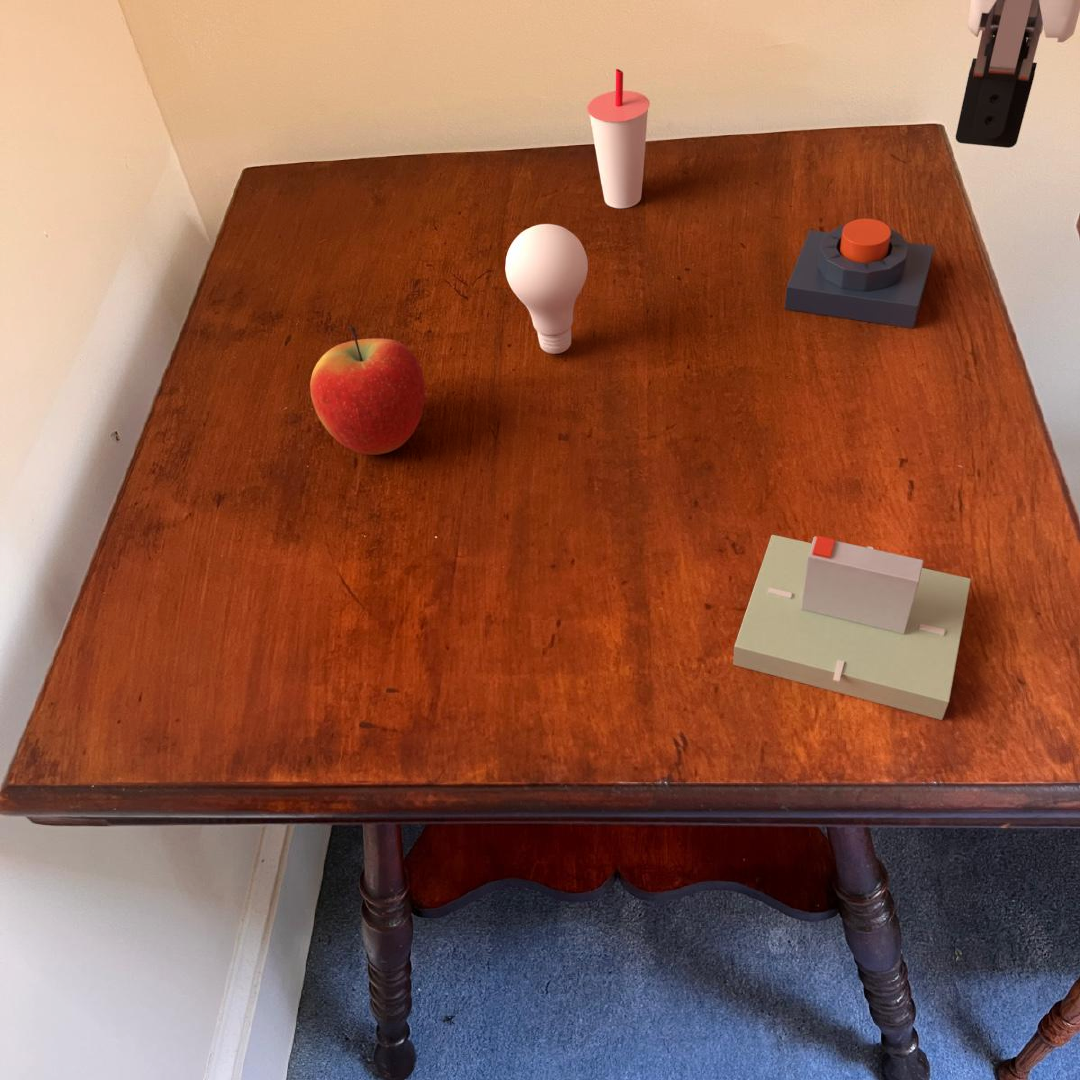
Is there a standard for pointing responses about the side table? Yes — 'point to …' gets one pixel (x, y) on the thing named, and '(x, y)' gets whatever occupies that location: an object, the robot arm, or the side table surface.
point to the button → (865, 240)
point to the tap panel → (853, 638)
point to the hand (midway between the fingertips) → (986, 137)
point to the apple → (369, 394)
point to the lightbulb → (548, 280)
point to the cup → (620, 143)
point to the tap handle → (860, 584)
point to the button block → (859, 281)
